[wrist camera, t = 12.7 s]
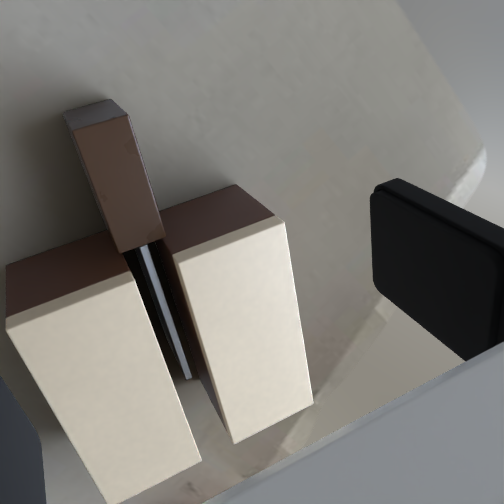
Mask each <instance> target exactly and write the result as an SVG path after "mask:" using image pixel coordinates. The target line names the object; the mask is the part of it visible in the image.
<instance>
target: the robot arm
mask: <svg viewBox="0 0 504 504" xmlns="http://www.w3.org/2000/svg"><path fill="white" fill-rule="evenodd" d="M370 217H371V243H372V269H373V282H374V285H375V287H376V288H377V290H378V291H379V292H380V293H381V294H383V295H384V296H385V297H386V298H388V299H389V300H390V301H391V302H393V303H394V304H395V305H396V306H397V307H399V308H400V309H401V310H403V311H404V312H405V313H406V314H407V315H409V316H410V317H411V318H412V319H414V320H415V321H416V322H417V323H419V324H420V325H421V326H422V327H423V328H425V329H426V330H427V331H428V332H430V333H431V334H432V335H433V336H435V337H436V338H437V339H438V340H440V341H441V342H442V343H443V344H445V345H446V346H447V347H448V348H450V349H451V350H452V351H454V353H456V354H457V355H458V356H460V357H461V358H462V359H463V360H465V361H466V362H464V363H462V364H460V365H459V366H457V367H455V368H453V369H451V370H449V371H447V372H445V373H443V374H442V375H440V376H438V377H436V378H434V379H432V380H430V381H428V382H426V383H424V384H423V385H421V386H419V387H417V388H415V389H413V390H411V391H409V392H408V393H406V394H404V395H402V396H400V397H398V398H396V399H394V400H393V401H391V402H389V403H387V404H385V405H383V406H381V407H379V408H378V409H376V410H374V411H372V412H370V413H368V414H366V415H365V416H363V417H361V418H359V419H357V420H355V421H353V422H351V423H350V424H348V425H346V426H344V427H342V428H340V429H338V430H337V431H335V432H333V433H331V434H329V435H327V436H325V437H324V438H322V439H320V440H318V441H316V442H314V443H312V444H311V445H309V446H307V447H305V448H303V449H301V450H299V451H297V452H296V453H294V454H292V455H290V456H288V457H286V458H284V459H283V460H281V461H279V462H277V463H275V464H273V465H272V466H270V467H268V468H266V469H264V470H262V471H261V472H259V473H257V474H255V475H253V476H251V477H250V478H248V479H246V480H244V481H242V482H240V483H238V484H237V485H235V486H233V487H231V488H229V489H227V490H226V491H224V492H222V493H220V494H218V495H216V496H215V497H213V498H211V499H209V500H207V501H205V502H203V503H202V504H504V228H502V227H500V226H498V225H495V224H493V223H491V222H489V221H487V220H485V219H483V218H481V217H479V216H477V215H474V214H473V213H471V212H469V211H466V210H464V209H462V208H460V207H458V206H456V205H454V204H452V203H450V202H448V201H446V200H444V199H441V198H439V197H437V196H435V195H433V194H431V193H429V192H427V191H425V190H423V189H421V188H419V187H417V186H414V185H412V184H410V183H408V182H406V181H404V180H402V179H399V178H396V179H393V180H390V181H387V182H385V183H382V184H380V185H377V186H376V187H375V189H374V193H372V194H371V196H370ZM0 504H46V493H45V482H44V471H43V459H42V448H41V442H40V439H39V436H38V434H37V432H36V430H35V428H34V427H33V425H32V424H31V422H30V420H29V419H28V417H27V416H26V414H25V413H24V411H23V410H22V408H21V407H20V405H19V404H18V402H17V400H16V399H15V397H14V396H13V394H12V393H11V391H10V390H9V388H8V387H7V385H6V383H5V382H4V380H3V379H2V377H1V376H0Z"/></svg>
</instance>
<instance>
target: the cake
mask: <svg viewBox="0 0 504 504" xmlns="http://www.w3.org/2000/svg"><path fill="white" fill-rule="evenodd" d="M159 213H160V216H161V219H162V223H163V226H164V229H165V232H166V237H164V238H162V239H159V240H156V241H155V244H156V247H157V250H158V253H159V256H160V259H161V262H162V265H163V268H164V271H165V274H166V277H167V280H168V283H169V286H170V289H171V292H172V295H173V298H174V301H175V304H176V307H177V310H178V314H179V317H180V320H181V323H182V326H183V329H184V332H185V335H186V338H187V341H188V344H189V347H190V350H191V353H192V356H193V359H194V362H195V365H196V368H197V371H198V374H199V377H200V380H201V382H202V384H203V386H204V388H205V390H206V392H207V394H208V396H209V398H210V400H211V402H212V404H213V406H214V408H215V410H216V412H217V413H218V415H219V417H220V419H221V421H222V423H223V425H224V427H225V429H226V431H227V433H228V435H229V437H230V439H231V441H232V443H233V444H236V443H238V442H240V441H242V440H244V439H246V438H247V437H249V436H251V435H253V434H255V433H257V432H259V431H261V430H263V429H265V428H267V427H269V426H271V425H273V424H275V423H277V422H279V421H281V420H283V419H285V418H286V417H288V416H290V415H292V414H294V413H296V412H298V411H300V410H302V409H304V408H306V407H308V406H310V405H312V404H313V398H312V392H311V385H310V379H309V373H308V366H307V360H306V354H305V348H304V341H303V335H302V329H301V323H300V316H299V310H298V304H297V298H296V291H295V285H294V279H293V272H292V266H291V260H290V254H289V247H288V241H287V235H286V229H285V223H284V222H283V221H282V220H281V219H280V218H278V217H277V216H275V214H273V213H272V212H271V211H270V210H268V209H267V208H266V207H265V206H263V205H262V204H261V203H259V202H258V201H257V200H256V199H254V198H253V197H252V196H251V195H249V194H248V193H247V192H246V191H244V190H243V189H242V188H241V187H239V186H238V185H233V186H230V187H227V188H225V189H222V190H219V191H216V192H213V193H210V194H208V195H205V196H202V197H199V198H196V199H193V200H191V201H188V202H185V203H182V204H179V205H176V206H173V207H171V208H168V209H165V210H162V211H159ZM6 332H7V334H8V336H9V337H10V339H11V341H12V342H13V344H14V346H15V348H16V349H17V351H18V353H19V354H20V356H21V358H22V359H23V361H24V363H25V365H26V366H27V368H28V370H29V371H30V373H31V375H32V377H33V378H34V380H35V382H36V383H37V385H38V387H39V389H40V390H41V392H42V394H43V395H44V397H45V399H46V400H47V402H48V404H49V406H50V407H51V409H52V411H53V412H54V414H55V416H56V418H57V419H58V421H59V423H60V424H61V426H62V428H63V429H64V431H65V433H66V435H67V436H68V438H69V440H70V441H71V443H72V445H73V447H74V448H75V450H76V452H77V453H78V455H79V457H80V458H81V460H82V462H83V464H84V465H85V467H86V469H87V470H88V472H89V474H90V476H91V477H92V479H93V481H94V482H95V484H96V486H97V488H98V489H99V491H100V493H101V494H102V496H103V498H104V499H105V501H106V503H107V504H119V503H121V502H123V501H125V500H127V499H129V498H131V497H132V496H134V495H136V494H138V493H140V492H142V491H144V490H146V489H148V488H150V487H152V486H154V485H156V484H158V483H160V482H162V481H164V480H166V479H168V478H170V477H171V476H173V475H175V474H177V473H179V472H181V471H183V470H185V469H187V468H189V467H191V466H193V465H195V464H197V463H199V462H201V461H202V459H201V456H200V454H199V451H198V448H197V446H196V443H195V440H194V438H193V435H192V432H191V430H190V427H189V424H188V422H187V419H186V416H185V413H184V411H183V408H182V405H181V403H180V400H179V397H178V395H177V392H176V389H175V387H174V384H173V381H172V379H171V376H170V373H169V371H168V368H167V365H166V363H165V360H164V357H163V354H162V352H161V349H160V346H159V344H158V341H157V338H156V336H155V333H154V330H153V328H152V325H151V322H150V320H149V317H148V314H147V312H146V309H145V306H144V304H143V301H142V298H141V295H140V293H139V290H138V287H137V285H136V282H135V280H134V277H133V275H132V273H131V271H130V269H129V267H128V265H127V262H126V260H125V258H124V256H123V254H122V253H121V254H119V253H118V252H117V250H116V247H115V245H114V243H113V241H112V239H111V236H110V234H109V232H108V230H106V231H103V232H100V233H97V234H94V235H91V236H89V237H86V238H83V239H80V240H77V241H74V242H71V243H69V244H66V245H63V246H60V247H57V248H54V249H52V250H49V251H46V252H43V253H40V254H37V255H35V256H32V257H29V258H26V259H23V260H20V261H17V262H15V263H12V264H9V265H6Z"/></svg>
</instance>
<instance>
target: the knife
mask: <svg viewBox="0 0 504 504" xmlns="http://www.w3.org/2000/svg"><path fill="white" fill-rule="evenodd" d="M63 117H64V119H65V122H66V124H67V127H68V130H69V132H70V135H71V137H72V140H73V143H74V145H75V148H76V150H77V153H78V156H79V158H80V161H81V163H82V166H83V168H84V171H85V174H86V176H87V179H88V181H89V184H90V187H91V189H92V192H93V194H94V197H95V200H96V202H97V205H98V207H99V210H100V213H101V215H102V218H103V220H104V223H105V225H106V227H107V230H108V232H109V234H110V236H111V239H112V241H113V243H114V245H115V247H116V250H117V252H118V253H119V254H121V253H124V252H126V251H129V250H132V249H135V252H136V255H137V258H138V261H139V263H140V266H141V269H142V272H143V274H144V277H145V280H146V283H147V286H148V288H149V291H150V294H151V297H152V299H153V302H154V305H155V308H156V311H157V313H158V316H159V319H160V322H161V324H162V327H163V330H164V333H165V335H166V338H167V341H168V343H169V345H170V347H171V349H172V351H173V353H174V356H175V358H176V360H177V362H178V364H179V366H180V368H181V370H182V372H183V374H184V377H185V379H186V380H188V379H190V378H192V374H191V371H190V368H189V365H188V362H187V359H186V356H185V353H184V350H183V347H182V345H181V342H180V339H179V336H178V333H177V330H176V327H175V324H174V321H173V318H172V315H171V312H170V309H169V306H168V304H167V301H166V298H165V295H164V292H163V289H162V286H161V283H160V280H159V277H158V274H157V271H156V268H155V265H154V263H153V260H152V257H151V254H150V251H149V248H148V245H147V244H148V243H151V242H153V241H156V240H159V239H162V238H164V237H166V232H165V229H164V226H163V223H162V219H161V216H160V213H159V210H158V207H157V203H156V200H155V197H154V194H153V191H152V187H151V184H150V181H149V178H148V175H147V171H146V168H145V165H144V162H143V159H142V156H141V152H140V149H139V146H138V143H137V140H136V136H135V133H134V130H133V127H132V124H131V120H130V117H129V115H128V114H127V113H126V112H125V111H124V110H123V109H122V108H120V107H119V106H118V105H117V104H116V103H115V102H114V101H113V100H112V99H109V100H105V101H101V102H98V103H94V104H91V105H87V106H83V107H80V108H76V109H73V110H69V111H66V112H63Z"/></svg>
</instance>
